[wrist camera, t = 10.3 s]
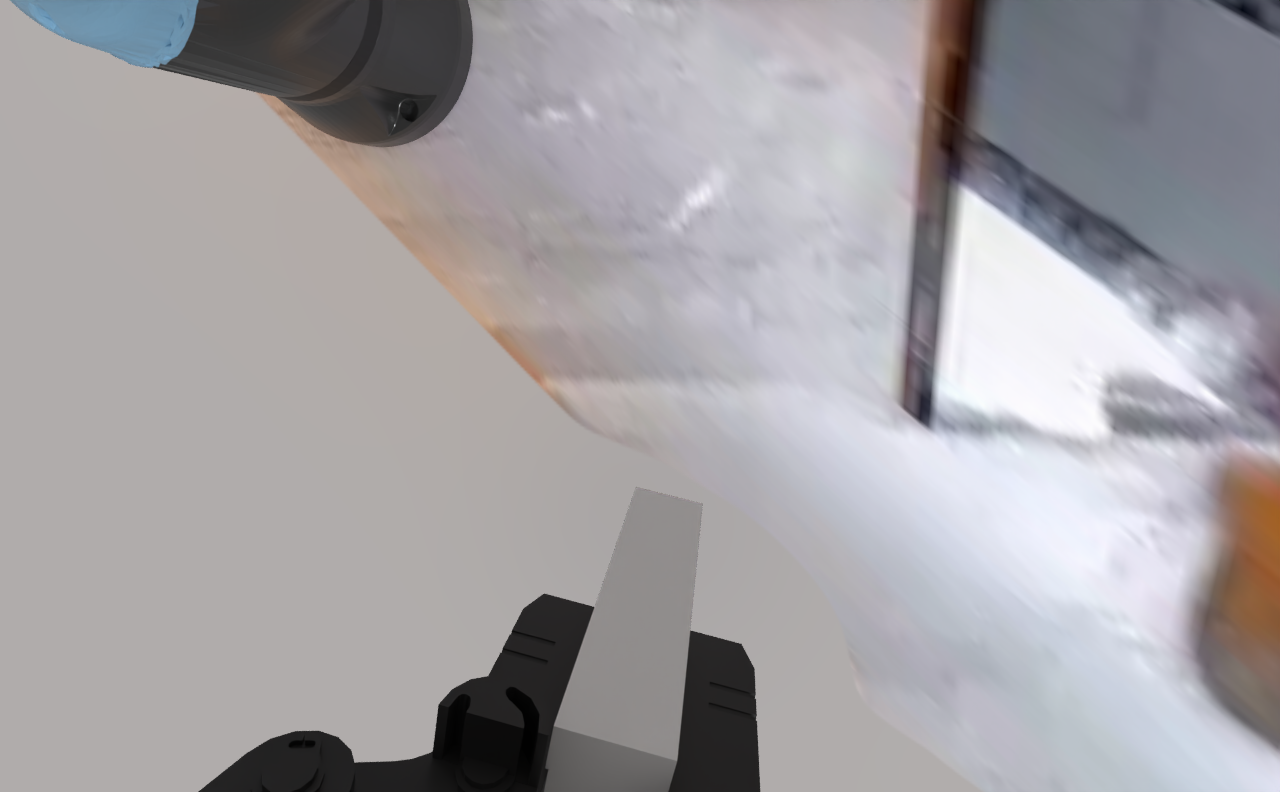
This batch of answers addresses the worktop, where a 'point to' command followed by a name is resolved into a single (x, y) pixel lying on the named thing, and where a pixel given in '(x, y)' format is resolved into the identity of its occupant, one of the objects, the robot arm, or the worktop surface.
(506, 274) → the worktop surface
